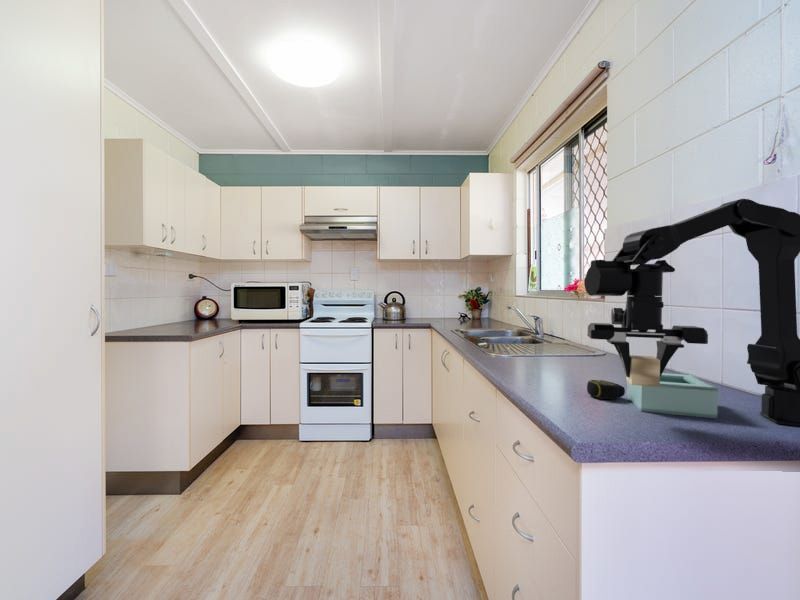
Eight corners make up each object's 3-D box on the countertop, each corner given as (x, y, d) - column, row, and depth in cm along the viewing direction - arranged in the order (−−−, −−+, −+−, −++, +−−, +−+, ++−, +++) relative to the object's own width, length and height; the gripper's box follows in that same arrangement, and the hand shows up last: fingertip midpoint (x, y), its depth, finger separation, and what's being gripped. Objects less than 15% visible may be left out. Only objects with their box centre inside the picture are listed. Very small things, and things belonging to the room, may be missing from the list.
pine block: (652, 381, 75) (652, 356, 75) (659, 387, 71) (660, 360, 71) (626, 380, 77) (626, 354, 77) (631, 385, 72) (632, 358, 72)
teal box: (691, 401, 88) (692, 375, 88) (717, 418, 76) (718, 388, 76) (627, 395, 92) (627, 370, 92) (641, 411, 80) (641, 382, 80)
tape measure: (626, 400, 89) (627, 384, 89) (603, 402, 87) (603, 386, 86) (602, 393, 95) (602, 378, 95) (580, 395, 93) (580, 379, 93)
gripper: (686, 296, 78) (684, 373, 78) (584, 295, 84) (583, 366, 84) (710, 297, 67) (708, 385, 68) (592, 295, 74) (590, 377, 74)
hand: (642, 377), depth 74 cm, fingers closed on pine block, 4 cm apart
